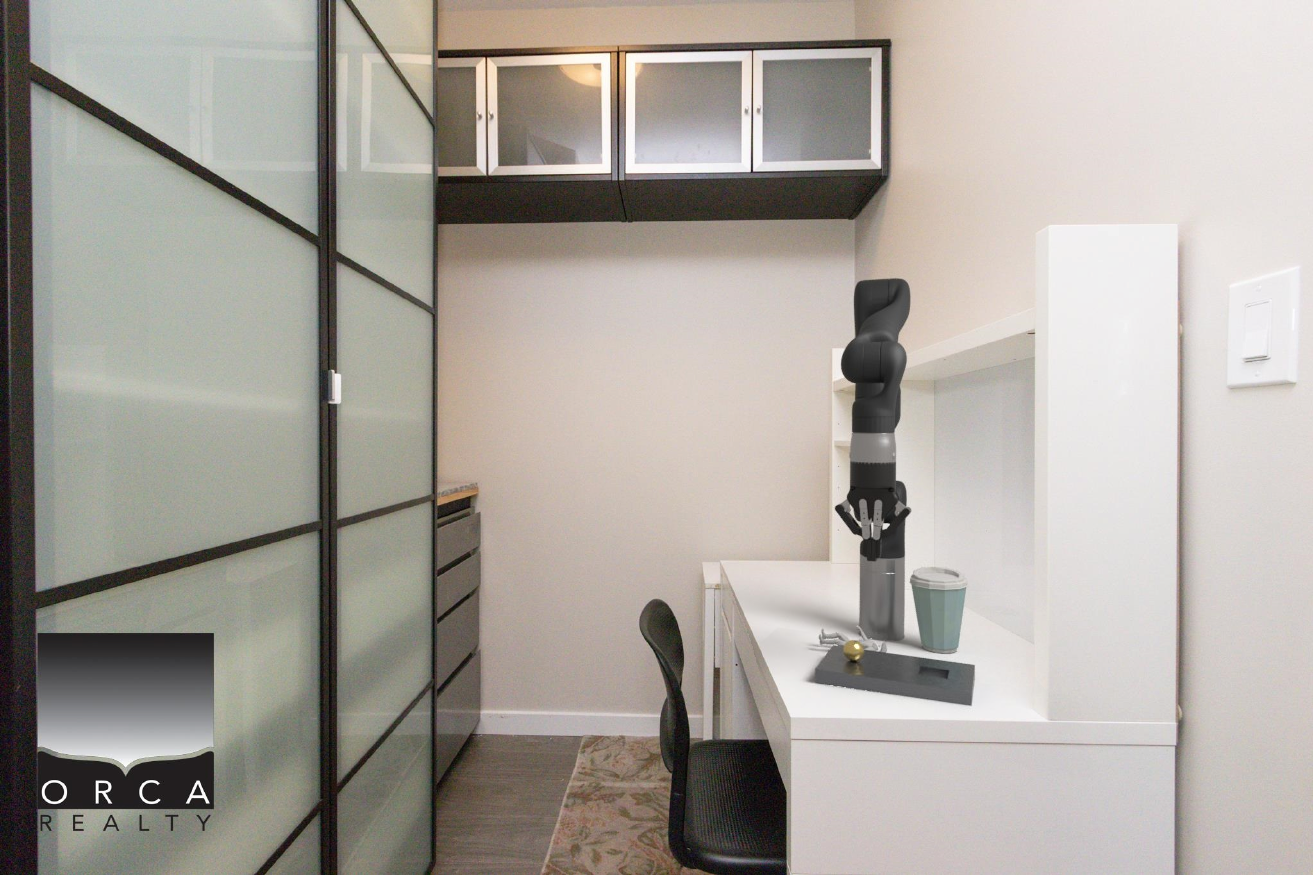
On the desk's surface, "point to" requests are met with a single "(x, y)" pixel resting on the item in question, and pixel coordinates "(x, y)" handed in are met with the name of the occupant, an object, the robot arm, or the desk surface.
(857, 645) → the brass knob
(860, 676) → the bore plate
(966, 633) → the desk surface
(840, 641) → the soldier figure
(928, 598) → the disposable coffee cup
